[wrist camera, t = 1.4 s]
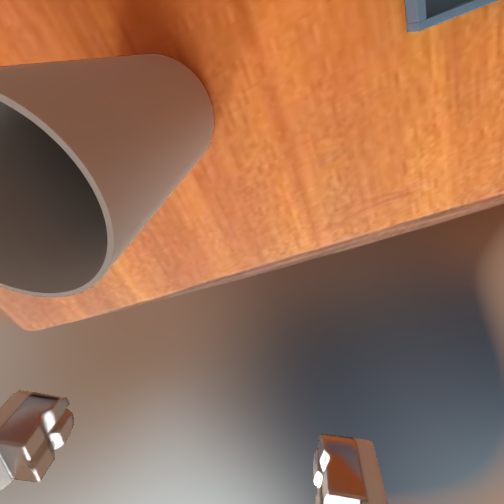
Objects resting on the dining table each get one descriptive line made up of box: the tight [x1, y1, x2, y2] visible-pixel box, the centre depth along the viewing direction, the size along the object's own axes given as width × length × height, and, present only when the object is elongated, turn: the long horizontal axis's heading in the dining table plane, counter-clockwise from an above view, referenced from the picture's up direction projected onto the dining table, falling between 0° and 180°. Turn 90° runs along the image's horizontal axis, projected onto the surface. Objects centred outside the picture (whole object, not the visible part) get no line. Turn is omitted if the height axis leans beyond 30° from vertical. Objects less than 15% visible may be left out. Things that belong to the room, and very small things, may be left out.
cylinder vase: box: [0, 54, 214, 297], centre depth 27 cm, size 12×12×25 cm
